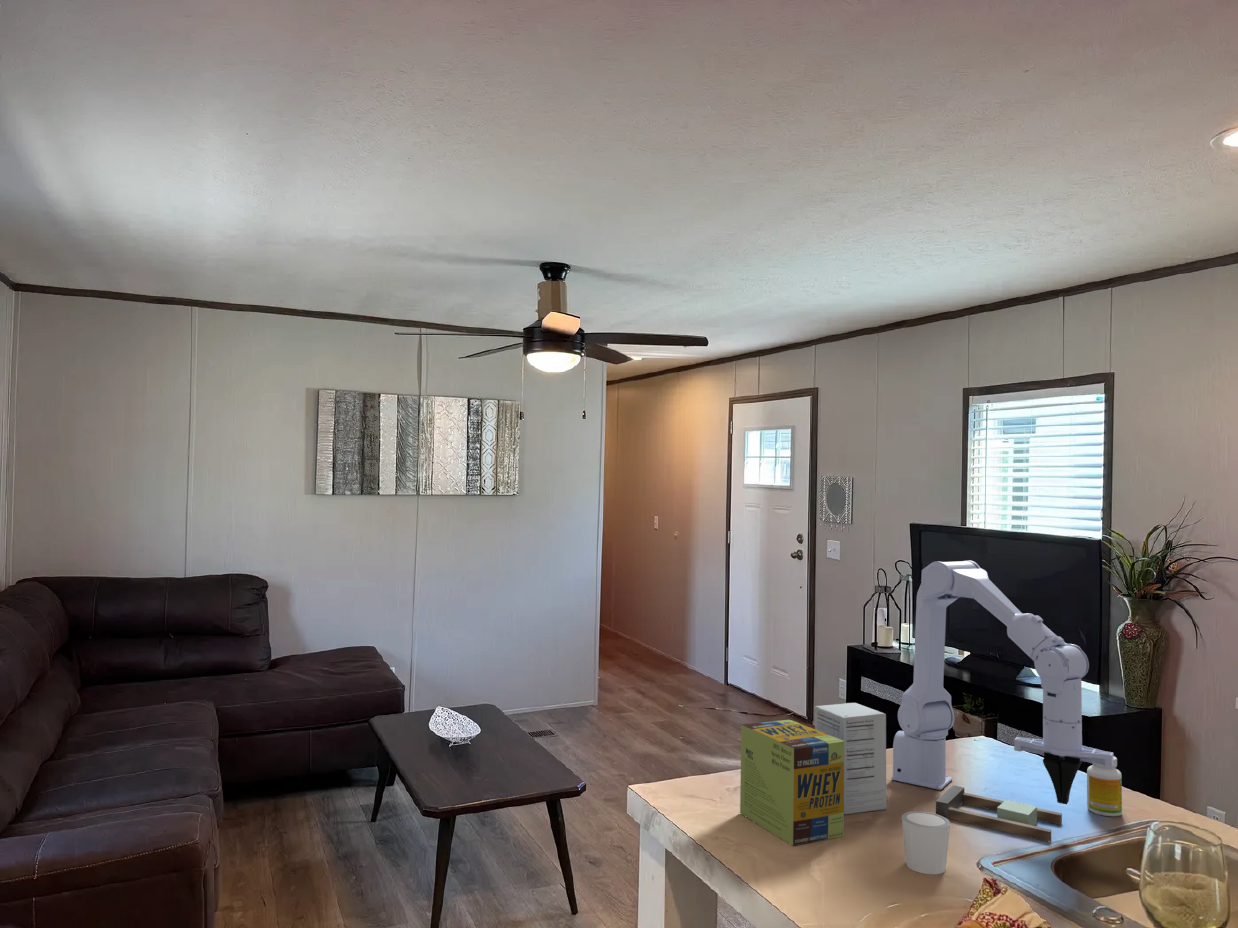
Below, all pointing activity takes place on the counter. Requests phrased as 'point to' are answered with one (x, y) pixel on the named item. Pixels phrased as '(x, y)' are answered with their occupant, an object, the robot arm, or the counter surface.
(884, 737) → the supplement box
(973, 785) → the counter surface
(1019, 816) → the block
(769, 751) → the protein box
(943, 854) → the white cup
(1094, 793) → the supplement bottle
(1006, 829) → the guide channel
